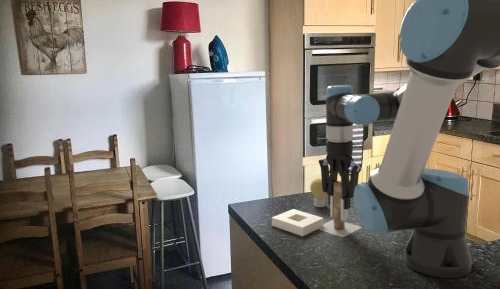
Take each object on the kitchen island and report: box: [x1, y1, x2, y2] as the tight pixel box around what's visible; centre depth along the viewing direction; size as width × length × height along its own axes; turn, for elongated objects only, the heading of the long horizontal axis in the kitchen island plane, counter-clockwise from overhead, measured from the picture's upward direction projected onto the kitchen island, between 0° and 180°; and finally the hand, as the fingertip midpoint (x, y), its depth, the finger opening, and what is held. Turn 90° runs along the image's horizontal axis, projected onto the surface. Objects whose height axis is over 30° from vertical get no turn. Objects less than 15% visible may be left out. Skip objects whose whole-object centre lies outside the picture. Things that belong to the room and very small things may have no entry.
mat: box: [318, 218, 363, 238], centre depth 126 cm, size 10×10×1 cm
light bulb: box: [309, 177, 328, 208], centre depth 145 cm, size 6×6×10 cm
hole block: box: [271, 208, 325, 237], centre depth 128 cm, size 12×10×3 cm
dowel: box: [333, 180, 346, 230], centre depth 124 cm, size 3×3×14 cm
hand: (339, 217), depth 125 cm, fingers closed on dowel, 3 cm apart
